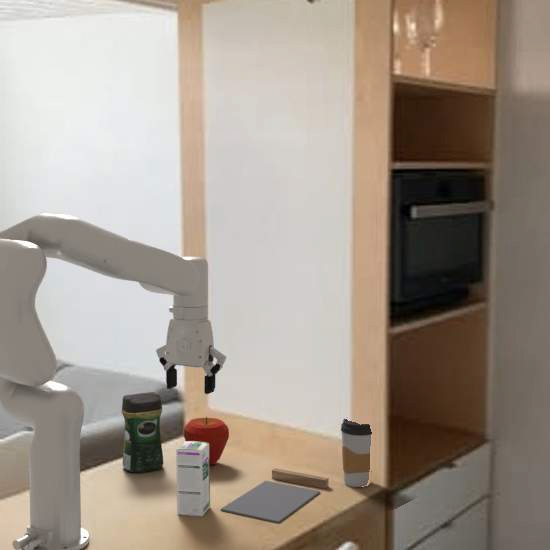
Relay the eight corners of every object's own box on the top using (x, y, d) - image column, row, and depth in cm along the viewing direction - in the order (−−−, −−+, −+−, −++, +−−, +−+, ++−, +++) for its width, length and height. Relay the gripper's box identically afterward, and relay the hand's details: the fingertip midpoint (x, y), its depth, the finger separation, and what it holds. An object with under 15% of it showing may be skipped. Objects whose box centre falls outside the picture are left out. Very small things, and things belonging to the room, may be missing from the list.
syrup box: (203, 517, 184) (203, 450, 183) (176, 514, 186) (175, 448, 184) (210, 507, 190) (210, 441, 188) (184, 504, 191) (184, 440, 190)
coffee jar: (155, 460, 221) (155, 387, 218) (167, 469, 214) (166, 395, 211) (118, 465, 216) (117, 392, 214) (128, 475, 209) (127, 399, 207)
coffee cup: (382, 485, 204) (384, 422, 202) (353, 492, 200) (355, 427, 198) (360, 475, 211) (362, 414, 210) (332, 481, 207) (333, 418, 205)
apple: (174, 464, 218) (174, 416, 216) (206, 454, 226) (206, 408, 224) (206, 474, 210) (206, 425, 209) (237, 463, 218) (237, 416, 217)
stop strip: (325, 488, 202) (325, 480, 202) (271, 478, 208) (271, 470, 208) (328, 486, 203) (328, 478, 203) (274, 476, 210) (275, 468, 209)
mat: (278, 523, 182) (278, 521, 182) (220, 510, 188) (220, 508, 188) (319, 492, 199) (320, 491, 199) (265, 482, 206) (265, 480, 206)
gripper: (147, 312, 193) (148, 389, 194) (216, 319, 185) (216, 398, 187) (166, 308, 199) (166, 382, 201) (233, 314, 192) (233, 391, 194)
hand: (190, 390), depth 194 cm, fingers open, 9 cm apart
